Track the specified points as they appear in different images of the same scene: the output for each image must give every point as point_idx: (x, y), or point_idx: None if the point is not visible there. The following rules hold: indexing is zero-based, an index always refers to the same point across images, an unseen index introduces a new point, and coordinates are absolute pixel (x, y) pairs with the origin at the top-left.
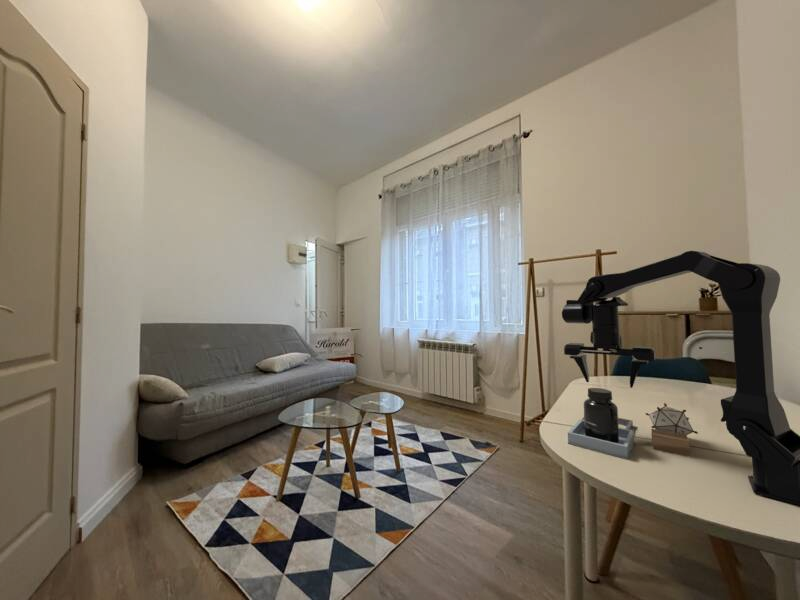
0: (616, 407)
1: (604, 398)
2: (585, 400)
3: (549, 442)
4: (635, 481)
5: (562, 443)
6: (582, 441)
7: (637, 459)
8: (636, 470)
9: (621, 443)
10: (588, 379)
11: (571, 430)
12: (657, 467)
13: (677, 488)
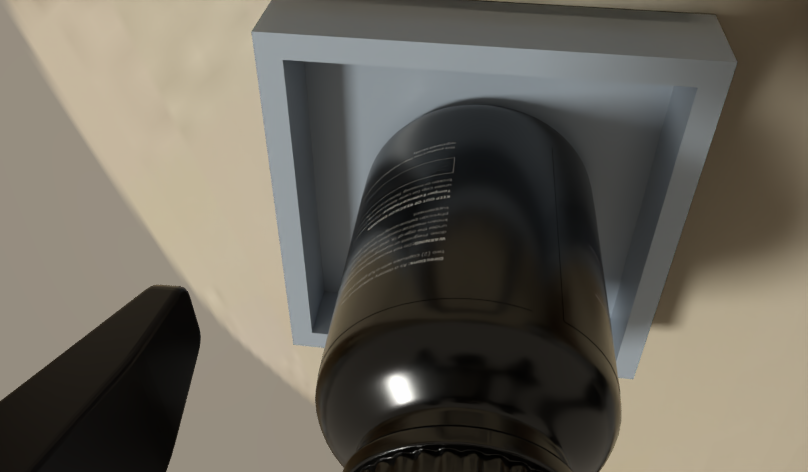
0: (612, 447)
1: None
2: (328, 442)
3: (226, 322)
4: (634, 466)
5: (284, 302)
6: None
7: (677, 296)
8: (651, 397)
9: (606, 174)
10: (175, 353)
11: (298, 306)
12: (763, 332)
13: (787, 452)
